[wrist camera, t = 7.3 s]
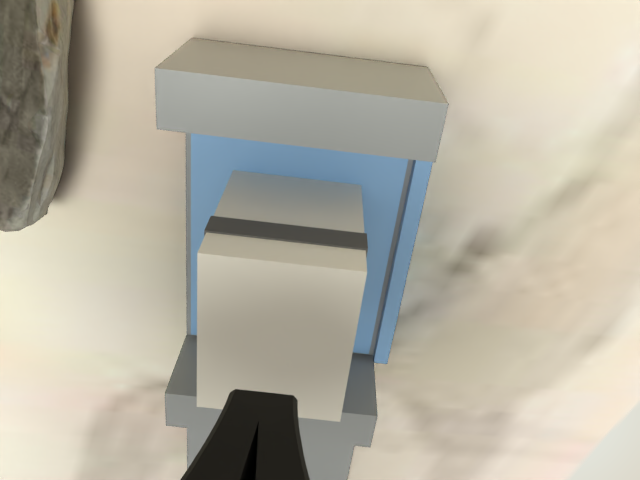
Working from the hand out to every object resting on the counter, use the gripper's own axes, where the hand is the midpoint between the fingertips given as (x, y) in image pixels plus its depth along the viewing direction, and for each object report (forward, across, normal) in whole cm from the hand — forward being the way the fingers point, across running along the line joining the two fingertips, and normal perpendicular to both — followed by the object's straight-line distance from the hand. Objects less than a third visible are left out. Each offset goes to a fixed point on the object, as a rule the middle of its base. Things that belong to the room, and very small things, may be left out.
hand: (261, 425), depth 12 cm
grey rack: (+9, 0, +5) cm, 10 cm away
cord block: (+8, 0, 0) cm, 8 cm away
